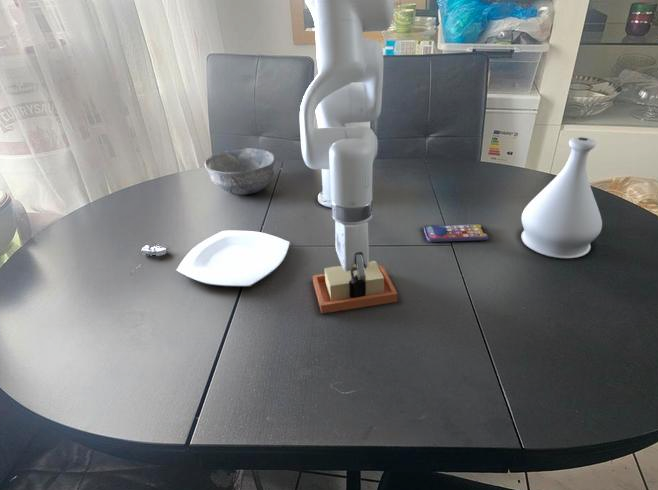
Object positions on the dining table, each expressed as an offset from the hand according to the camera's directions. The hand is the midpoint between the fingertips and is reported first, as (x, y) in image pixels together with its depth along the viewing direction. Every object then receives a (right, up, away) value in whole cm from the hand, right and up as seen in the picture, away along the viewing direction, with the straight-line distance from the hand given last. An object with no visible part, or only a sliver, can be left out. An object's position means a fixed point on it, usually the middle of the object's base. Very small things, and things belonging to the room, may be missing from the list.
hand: (353, 285), depth 93 cm
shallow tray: (0, -1, +1) cm, 2 cm away
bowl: (-33, +28, +45) cm, 63 cm away
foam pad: (0, -1, +1) cm, 1 cm away
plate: (-27, +5, +12) cm, 30 cm away
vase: (+49, +10, +16) cm, 53 cm away
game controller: (-49, +5, +13) cm, 51 cm away
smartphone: (+26, +12, +19) cm, 34 cm away
